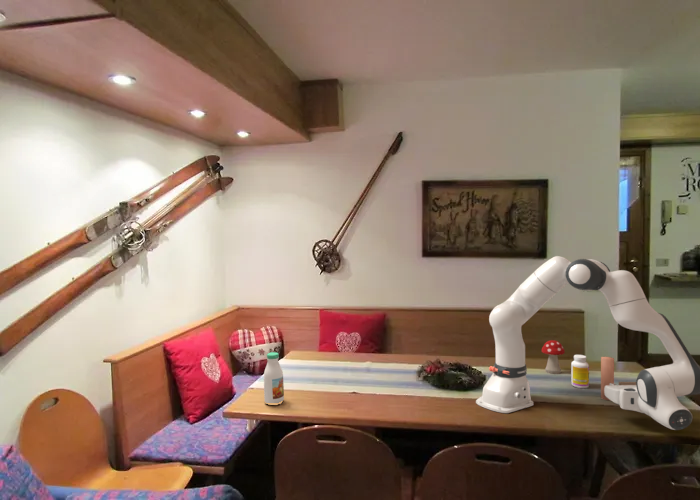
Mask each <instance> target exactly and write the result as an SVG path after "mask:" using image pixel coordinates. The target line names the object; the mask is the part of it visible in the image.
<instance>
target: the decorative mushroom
mask: <svg viewBox="0 0 700 500" xmlns="http://www.w3.org/2000/svg"><path fill="white" fill-rule="evenodd" d="M565 352H566V351H565V348H564V347H563V345H562V343H561V342H559V341H558V340H555V339H554V340H553V339H551V340H547V341H546V342H545V343H543V346H542V347H541V353H543V354H545V355H548V358H547V363H546V367H545V368H544V369H545V372H546V373H547V374H551V375H558V374H561V372H562V369H561V366H560V362H559V357H558V356H561V355H564V354H566V353H565Z"/></svg>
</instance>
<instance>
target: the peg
mask: <svg viewBox="0 0 700 500" xmlns="http://www.w3.org/2000/svg"><path fill="white" fill-rule="evenodd" d="M610 383H615V358H614V357H611V356H601V357H600V399H602V400H604V401H610V402H612V401H611V400H610V399H608V398H607V397H606V396H605V393H604V388H605V386H606V385H610Z"/></svg>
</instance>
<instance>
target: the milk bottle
mask: <svg viewBox="0 0 700 500" xmlns="http://www.w3.org/2000/svg"><path fill="white" fill-rule="evenodd" d="M279 355H280V354H279V352H272V351H271V352H269V353H267V354H266V360H267V363H266V366H265V369H264V372H263V391H264V392H263V394H264V396H263V397H264V403H265V402H266V403H279V402H281V401H283V400H284V401H285V391H284V387H285V385H284V374H283V369H282V367H281V365H280V361H279V359H280V357H279Z"/></svg>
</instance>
